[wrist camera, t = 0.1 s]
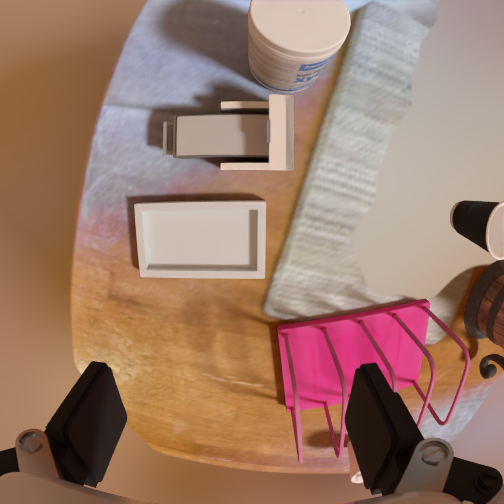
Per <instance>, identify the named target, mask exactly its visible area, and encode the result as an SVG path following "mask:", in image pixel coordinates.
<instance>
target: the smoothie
mask: <svg viewBox="0 0 504 504" xmlns="http://www.w3.org/2000/svg"><path fill="white" fill-rule="evenodd" d="M347 447H348V454H349V462H350V471H351V474H350V478H351V481H352V482H354V483H362V482H363V479H362V476H361V472H360V469H359V466H358V463H357V460H356V457H355V453H354V450H353V447H352V444H351V441H349V442H348V443H347Z"/></svg>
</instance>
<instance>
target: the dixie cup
mask: <svg viewBox="0 0 504 504" xmlns="http://www.w3.org/2000/svg"><path fill="white" fill-rule="evenodd" d="M450 222H451V225H452V227H453V228H454V229H455V230H456V231H457V232H458V233H459V234H461V235H462V236H464V237H466V238H467V239H469V240H470V241H472V242H474V243H475V244H477V245H478V246H480V247H481V248H483V249H484V250H486V251H487V252H489V253H490V254H491V256H492V257H493V258H495V259H497V260H502V259H504V201H503V202H501V203H499V202H483V201H462V202H458V203H456V204H455V205H454V206H453V208H452V210H451V213H450Z"/></svg>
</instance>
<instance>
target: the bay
mask: <svg viewBox="0 0 504 504" xmlns="http://www.w3.org/2000/svg"><path fill="white" fill-rule="evenodd" d="M221 109H222V111H223V113H224V114H269V120H266V143H267V144H269V163H221V170H292V171H293V166H294V98H293V95H270V94H269V102H262V101H235V102H221Z"/></svg>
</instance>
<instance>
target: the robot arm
mask: <svg viewBox="0 0 504 504" xmlns="http://www.w3.org/2000/svg"><path fill="white" fill-rule="evenodd" d="M126 422H127V414H126V411H125V408H124V405H123V403H122V400H121V397H120V394H119V391H118V388H117V385H116V382H115V379H114V376H113V373H112V370H111V368H110V367H108V366H107V364H106V363H103V362H95V361H92V362H91V363H90V364H89V366H88V367H87V368H86V370H85V371H84V372H83V374H82V375H81V377H80V378H79V379H78V381H77V382H76V384H75V385H74V386H73V388H72V389H71V391H70V392H69V394H68V395H67V396H66V398H65V399H64V401H63V402H62V404H61V405H60V407H59V408H58V410H57V411H56V413H55V414H54V416H53V417H52V418H51V420H50V422H49V423H48V424H47V426H46V430H45V431H44V432H43V431H41V430H39V429H28V430H26V431H23V432H22V433H20V435H19V436H18V437H17V439H16V443H15V444H16V445H15V447H14V448H11V449H7V450H4V451H0V504H156V503H150V502H145V501H139V500H135V499H130V498H126V497H121V496H118V495H114V494H110V493H106V492H102V491H98V490H94V489H91V488H87V487H84V486H83V485H84V484H85V485H89V486H92V487H95V488H96V486H97V484H98V482H101V481H102V480H103V477H104V475H105V472H106V470H107V467H108V465H109V462H110V460H111V458H112V455H113V453H114V450H115V448H116V445H117V443H118V441H119V438H120V436H121V434H122V431H123V429H124V427H125V424H126ZM345 426H346V429H347V432H348V435H349V438H350V441H351V444H352V447H353V450H354V453H355V457H356V460H357V463H358V466H359V469H360V472H361V476H362V479H363V482H364V485H365V487H366V489H370V490H371V494H372V495H375V494H379V493H382V496H381V497H375V498H370V499H365V500H360V501H354V502H348V503H342V504H504V484H503V479H502V476H501V474H500V472H499V471H497V470H496V469H494V468H492V467H488V466H484V465H481V464H477V463H474V462H470V461H467V460H463V459H460V458H457V457H454V456H453V454H454V452H453V449H452V447H451V445H450V444H449V443H448V442H446V441H445V440H443V439H440V438H427V439H424V438H423V436H422V434H421V432H420V430H419V429H418V427H417V425H416V423H415V421H414V420H413V418H412V416H411V414H410V413H409V411H408V409H407V407H406V406H405V404H404V402H403V400H402V399H401V397H400V395H399V394H398V393H397V392H393V390H392V389H391V387H390V385H389V383H388V382H387V380H386V378H385V376H384V375H383V373H382V371H381V370H380V368H379V366H378V364H377V363H375V362H374V363H366V364H361V365H360V368H357V369H356V370H355V374H354V379H353V384H352V388H351V393H350V397H349V401H348V405H347V409H346V413H345Z"/></svg>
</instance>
